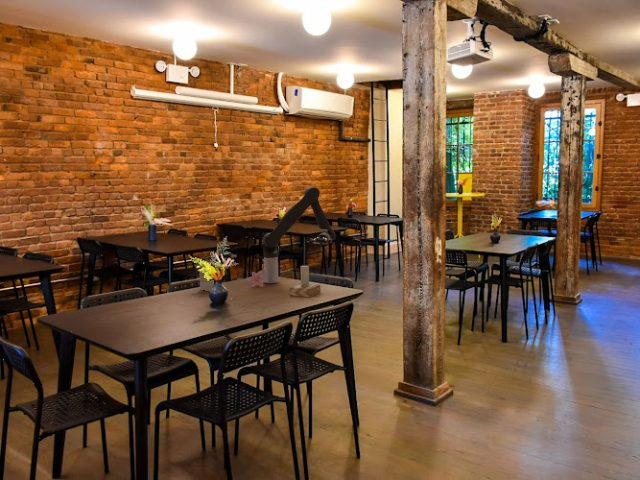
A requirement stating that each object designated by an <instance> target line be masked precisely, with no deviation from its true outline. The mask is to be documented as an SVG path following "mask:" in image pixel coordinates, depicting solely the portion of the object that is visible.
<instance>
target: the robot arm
mask: <svg viewBox="0 0 640 480" xmlns="http://www.w3.org/2000/svg"><path fill="white" fill-rule="evenodd" d="M303 193H304V195H303V197H302V198H300V200H299V201H298V202H296V203H295V204H294V205H293V206H291V207H290V208H289V209H288V210H287V211H286V212H285V213H284V214H283V216H282V217H281V219H280V221H279V222H278V223H277V226H276V227H275V228H274V229H273V230H272V231H270V232H267V233H265V234H264V236H263V237H262V253H263V266H264V268H263V269H262V271H263V272H262V277H265V278H267V279H266V280H264V281H263V283H265V284H277V283H279V261H278V259H279V256H278V249H277V247H278V246H277V245H278V244H279V242H280V241H281V239H282V238H283V236H285V235H286V233H287V232H288V231H290V230H291V228H292V227H293V226H294V225H295V224H297V222H298V220H300V218H301V217H302V216H303V215H304V213H306V210H307V209H308V208H311V210H312V212H313V215H314V218H315V220H316V222H317V225H318V228H319V229H320V230H326V231H324V232H321V233H320V234H318V235H317V237H311V238H309V239H308V243H309V244H311V245H313V244H316V245H317V244H318V245H319V246H321V247H322V246H326V245H327V244H332V243H333V241H335V240H336V238H337V235H336V233H335V231H334V229H333V228H332V227H331V226H330V225H331V224H330V223H329V221H328V218H327V216H326V214H325V212H324V210H323V208H322V207H321V204H320V201H319V198H320V195H321V193H320V190H319V189H318V187H315V186H308V187H307V188H305V190H304V192H303Z"/></svg>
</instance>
